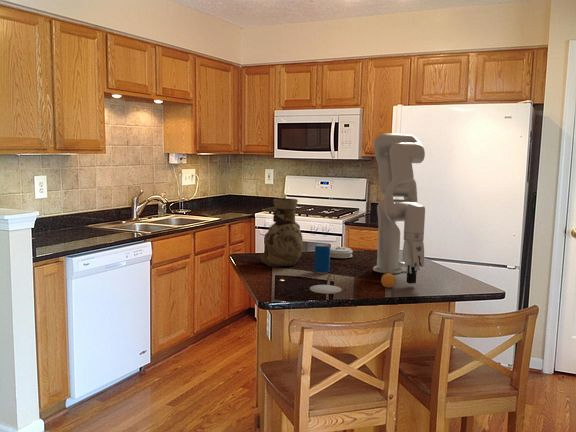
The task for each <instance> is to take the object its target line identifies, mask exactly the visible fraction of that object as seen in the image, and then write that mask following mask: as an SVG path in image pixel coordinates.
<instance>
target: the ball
mask: <svg viewBox="0 0 576 432" xmlns="http://www.w3.org/2000/svg"><path fill="white" fill-rule="evenodd" d="M380 282H381V284H382V286H383V287H384V288H387V289H388V288H389V289H390V288H392V287H394V286H395V284H396V282H397V280H396V277H395V276H394V274H390V273H383V275H382V276H381V280H380Z"/></svg>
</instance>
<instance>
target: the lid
mask: <svg viewBox="0 0 576 432" xmlns="http://www.w3.org/2000/svg"><path fill="white" fill-rule="evenodd" d="M329 247H330V246H329ZM353 252H354V250H352V248H350V247H345V246H331V247H330V258H335V259H348V258H353Z"/></svg>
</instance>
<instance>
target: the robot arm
mask: <svg viewBox="0 0 576 432" xmlns="http://www.w3.org/2000/svg"><path fill="white" fill-rule="evenodd" d="M373 152H374V157H375V160H376V163H377V165H378V182H379V192H380V194H381V195H382V196H383V199H382V200H381V201H379V202H378V204H377V206H376V213H377V220H378V221H377V224H378V232H377V233H378V234H377V252H376V253H377V254H376V256H377V257H376V265H374V266H373V267H372V270H373V271H374V272H376V273H380V274H386V273H390V274H392V275H394V274H400V273H402V272H403V268H405V267H406V283H407V284H410V285H411V284H416V282H417V275H418V274H417V273H418V271H420V270H421V269H420V267H421V268H423V267H424V266H425V244H424V238H425V236H424V235H425V221H426V220H425V219H426V207H425V206H424V205H423V204H419V203H418V202H419V201H418V189H417V182H416V180H415V178H414V176H415V175H414V170H413V164H421V163H422V162H423V161H424V160H425V156H426V155H425V154H426V152H425V148H424V145H423V143H422V142H421V141H420V140H419V139H418V138H417V137H416V136H415V135H413V134H408V133H406V134H405V133H381V134H378V135H377V136H376V137H375V139H374V141H373ZM395 197H396V199H394V198H395ZM397 197H398V198H399V199H397ZM400 198H403V199H400ZM396 222H404V223H403V225H404V226H403V227H404V228H403V246H402V261H401V260H400V248H401V230H400V228H399V226H398V225H397V223H396Z"/></svg>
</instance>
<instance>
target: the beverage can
mask: <svg viewBox="0 0 576 432" xmlns="http://www.w3.org/2000/svg"><path fill="white" fill-rule="evenodd" d="M330 263H331V257H330V244H326V243H317V244H316V246H315V247H314V268H313V269H314V272H315V273H316V274H320V275H326V274H327V275H328V273H329V272H330V268H331V266H330Z"/></svg>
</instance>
